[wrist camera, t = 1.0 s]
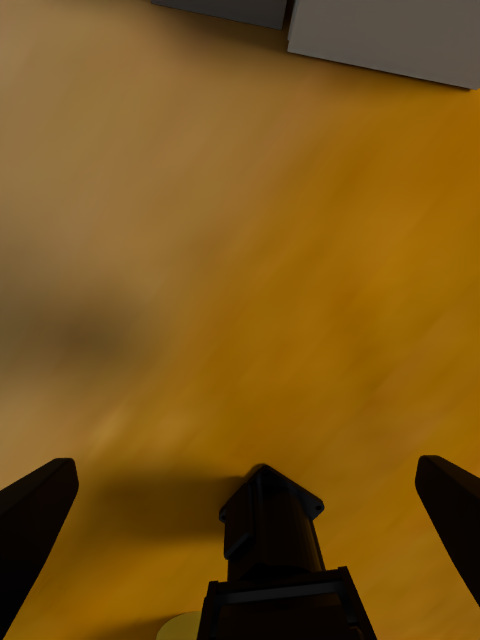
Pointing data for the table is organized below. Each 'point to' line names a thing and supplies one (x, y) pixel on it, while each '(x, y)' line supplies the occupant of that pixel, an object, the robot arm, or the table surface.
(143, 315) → the table surface
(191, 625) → the yellow paper roll
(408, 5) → the side door
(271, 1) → the camera body
